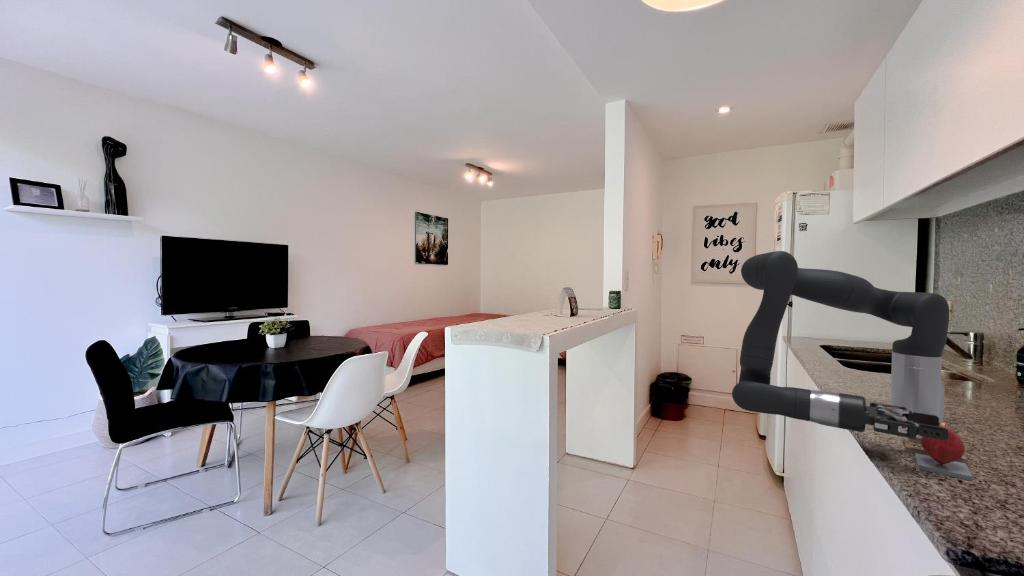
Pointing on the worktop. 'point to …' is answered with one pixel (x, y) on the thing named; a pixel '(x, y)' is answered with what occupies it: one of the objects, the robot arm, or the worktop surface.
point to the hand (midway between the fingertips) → (942, 427)
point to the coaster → (943, 467)
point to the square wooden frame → (922, 451)
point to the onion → (944, 447)
